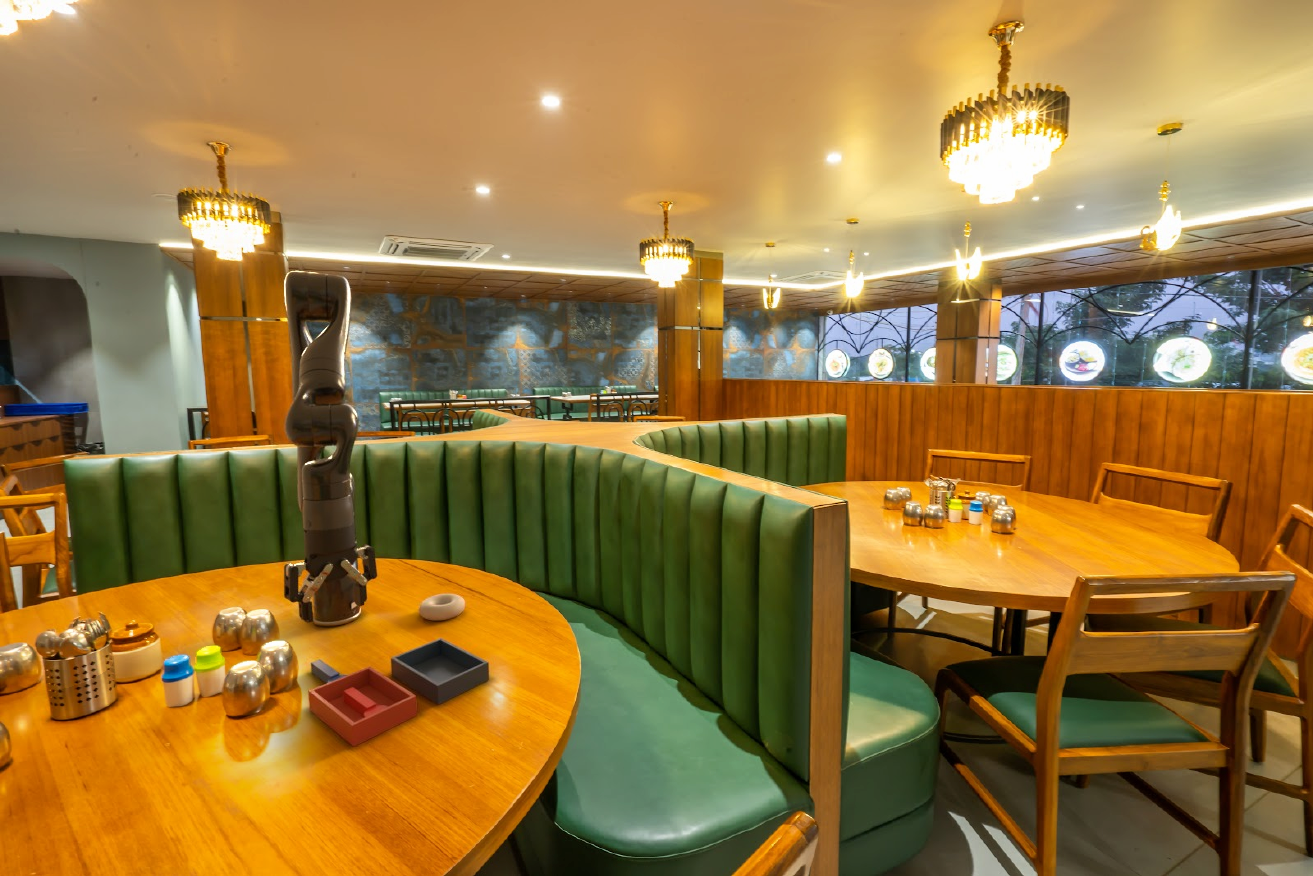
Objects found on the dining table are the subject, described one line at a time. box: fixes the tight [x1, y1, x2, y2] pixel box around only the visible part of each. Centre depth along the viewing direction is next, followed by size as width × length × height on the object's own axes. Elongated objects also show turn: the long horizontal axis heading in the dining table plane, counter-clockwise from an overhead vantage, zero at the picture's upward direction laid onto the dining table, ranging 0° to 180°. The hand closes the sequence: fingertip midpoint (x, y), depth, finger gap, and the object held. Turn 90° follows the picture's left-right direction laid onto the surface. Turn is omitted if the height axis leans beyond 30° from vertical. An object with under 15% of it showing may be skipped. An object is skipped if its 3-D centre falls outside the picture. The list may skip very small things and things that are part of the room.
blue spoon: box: [310, 659, 348, 684], centre depth 106 cm, size 11×4×2 cm, turn 52°
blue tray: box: [390, 637, 490, 706], centre depth 108 cm, size 15×10×3 cm
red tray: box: [307, 666, 418, 748], centre depth 97 cm, size 15×10×3 cm
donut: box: [418, 593, 466, 622], centre depth 135 cm, size 10×4×10 cm
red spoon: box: [343, 687, 387, 718], centre depth 96 cm, size 11×4×2 cm, turn 52°
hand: (334, 613), depth 102 cm, fingers open, 8 cm apart
